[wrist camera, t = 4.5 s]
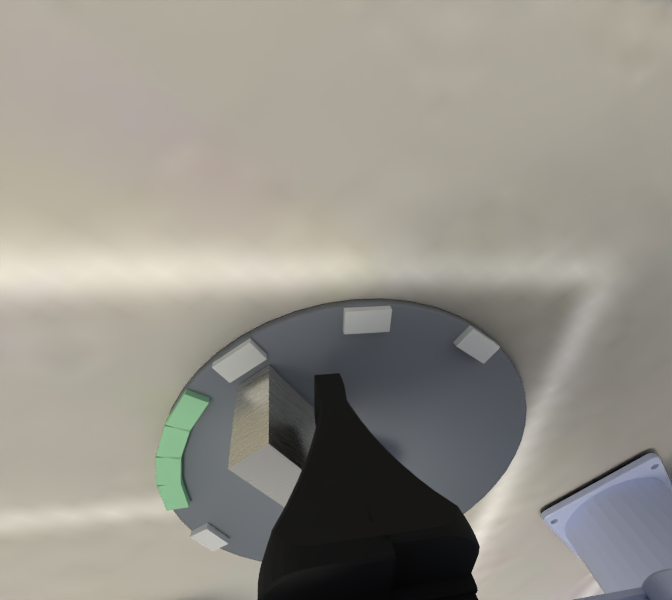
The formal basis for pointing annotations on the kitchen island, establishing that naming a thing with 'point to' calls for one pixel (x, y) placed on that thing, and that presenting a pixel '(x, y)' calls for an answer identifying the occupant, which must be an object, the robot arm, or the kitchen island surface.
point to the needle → (270, 434)
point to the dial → (364, 397)
